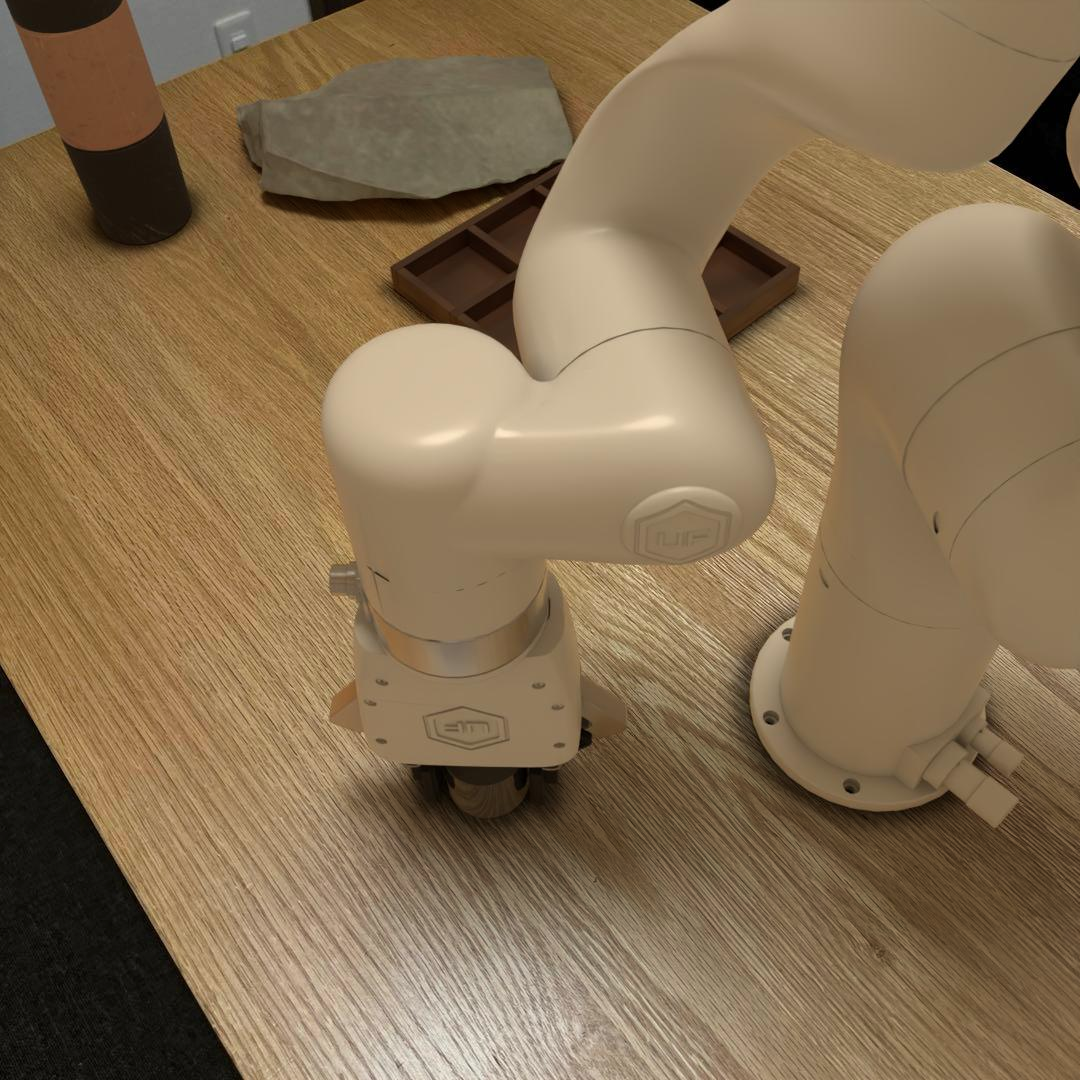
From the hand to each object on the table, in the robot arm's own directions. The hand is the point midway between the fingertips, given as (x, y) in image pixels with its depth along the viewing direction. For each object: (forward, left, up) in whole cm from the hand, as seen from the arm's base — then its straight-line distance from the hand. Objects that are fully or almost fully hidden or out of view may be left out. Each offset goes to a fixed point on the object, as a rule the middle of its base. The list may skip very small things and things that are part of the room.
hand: (488, 776), depth 64 cm
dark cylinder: (0, 0, 0) cm, 0 cm away
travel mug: (+55, -12, -1) cm, 56 cm away
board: (+24, -31, 0) cm, 39 cm away
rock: (+47, -32, -1) cm, 57 cm away
